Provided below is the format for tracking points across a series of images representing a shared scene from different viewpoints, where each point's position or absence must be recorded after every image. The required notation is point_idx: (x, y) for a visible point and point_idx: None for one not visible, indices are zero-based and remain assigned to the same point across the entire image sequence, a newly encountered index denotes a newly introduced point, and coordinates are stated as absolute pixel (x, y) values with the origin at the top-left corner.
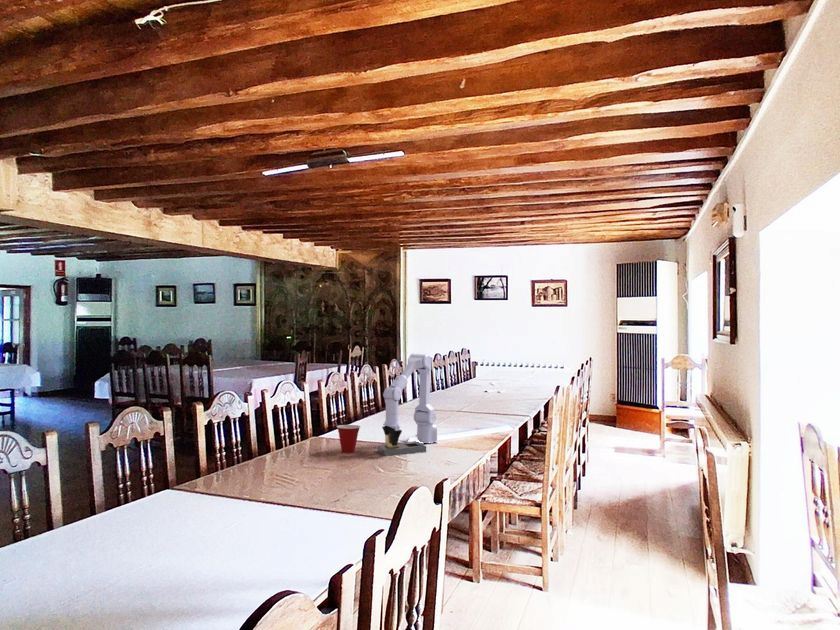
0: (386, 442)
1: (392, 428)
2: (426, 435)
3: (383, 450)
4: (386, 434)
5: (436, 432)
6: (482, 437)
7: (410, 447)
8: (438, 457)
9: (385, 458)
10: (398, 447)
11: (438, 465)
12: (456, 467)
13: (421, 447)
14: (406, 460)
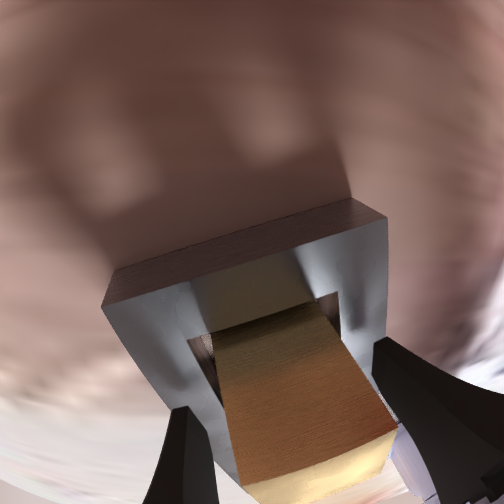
0: (295, 362)
1: (444, 490)
2: (407, 466)
3: (153, 282)
4: (376, 442)
5: (406, 484)
6: (382, 491)
7: (230, 461)
8: (134, 488)
9: (25, 273)
10: None
11: (14, 462)
12: (20, 481)
13: (239, 483)
14: (25, 397)
